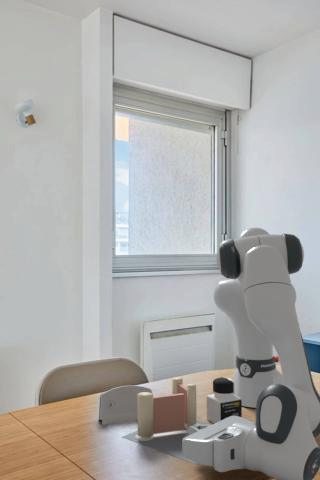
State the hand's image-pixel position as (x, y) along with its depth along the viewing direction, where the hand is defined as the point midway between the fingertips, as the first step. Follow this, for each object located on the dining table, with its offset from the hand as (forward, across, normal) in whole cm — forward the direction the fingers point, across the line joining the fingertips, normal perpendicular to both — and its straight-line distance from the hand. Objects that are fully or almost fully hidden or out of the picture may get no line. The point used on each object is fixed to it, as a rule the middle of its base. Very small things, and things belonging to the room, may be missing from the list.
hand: (191, 428), depth 111 cm
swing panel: (+13, -4, +5) cm, 14 cm away
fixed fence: (+14, -14, +6) cm, 21 cm away
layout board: (+8, -8, +6) cm, 13 cm away
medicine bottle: (+7, -24, +7) cm, 26 cm away
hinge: (+30, -9, +7) cm, 32 cm away
